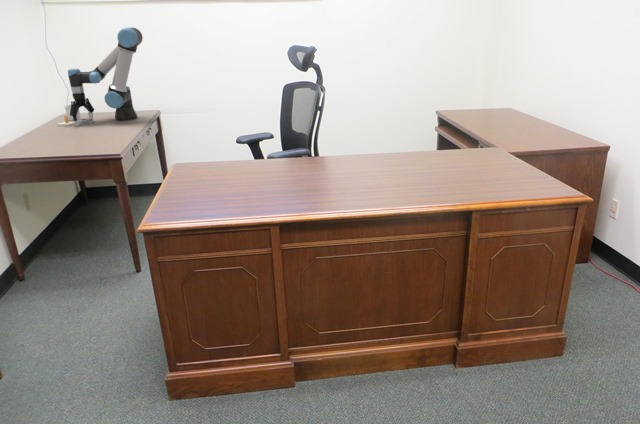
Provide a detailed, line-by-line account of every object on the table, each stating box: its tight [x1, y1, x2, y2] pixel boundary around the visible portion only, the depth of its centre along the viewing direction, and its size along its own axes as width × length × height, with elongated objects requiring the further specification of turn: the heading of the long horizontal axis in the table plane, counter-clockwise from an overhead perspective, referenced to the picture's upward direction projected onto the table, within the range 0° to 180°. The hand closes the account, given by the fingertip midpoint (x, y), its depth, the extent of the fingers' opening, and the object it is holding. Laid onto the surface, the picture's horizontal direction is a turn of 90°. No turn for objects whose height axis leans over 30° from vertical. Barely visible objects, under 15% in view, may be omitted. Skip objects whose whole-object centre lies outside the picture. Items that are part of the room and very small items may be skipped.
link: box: [78, 117, 94, 126], centre depth 324 cm, size 7×7×3 cm
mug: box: [64, 103, 82, 122], centre depth 336 cm, size 9×12×11 cm
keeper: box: [56, 114, 75, 128], centre depth 320 cm, size 9×9×6 cm
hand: (84, 123), depth 324 cm, fingers open, 13 cm apart
